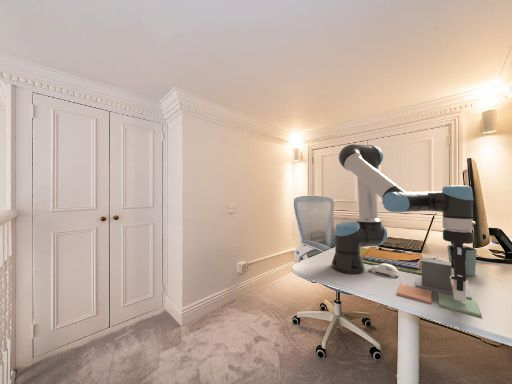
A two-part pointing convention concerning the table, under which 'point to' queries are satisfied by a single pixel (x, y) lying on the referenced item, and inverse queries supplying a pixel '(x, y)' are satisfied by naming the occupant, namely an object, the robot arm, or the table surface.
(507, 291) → the table surface
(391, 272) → the car
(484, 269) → the table surface
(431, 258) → the electrical switch
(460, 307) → the pad sage
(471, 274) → the teal cup
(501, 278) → the table surface
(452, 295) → the milkshake
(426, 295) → the pad terracotta
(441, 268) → the block
